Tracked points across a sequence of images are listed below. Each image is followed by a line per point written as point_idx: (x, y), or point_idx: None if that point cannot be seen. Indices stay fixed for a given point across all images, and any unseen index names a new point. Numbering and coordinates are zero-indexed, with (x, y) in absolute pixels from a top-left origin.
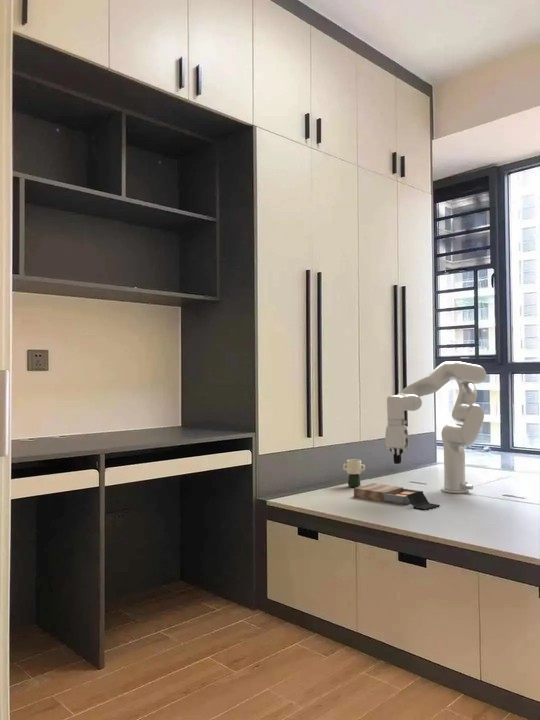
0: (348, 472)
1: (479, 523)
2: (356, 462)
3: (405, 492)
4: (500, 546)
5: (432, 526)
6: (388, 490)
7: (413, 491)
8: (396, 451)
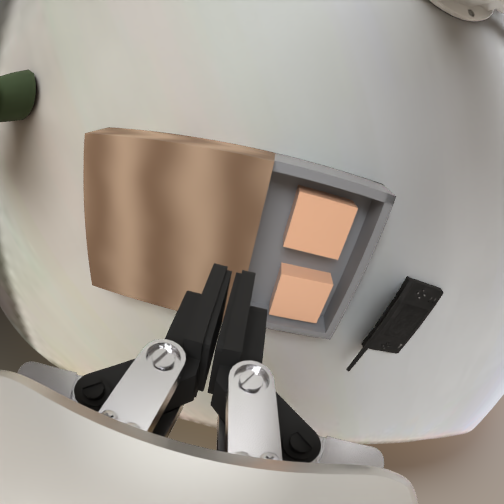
0: None
1: (478, 375)
2: None
3: (307, 223)
4: (457, 428)
5: (397, 420)
6: (233, 280)
7: (342, 188)
8: (168, 388)
